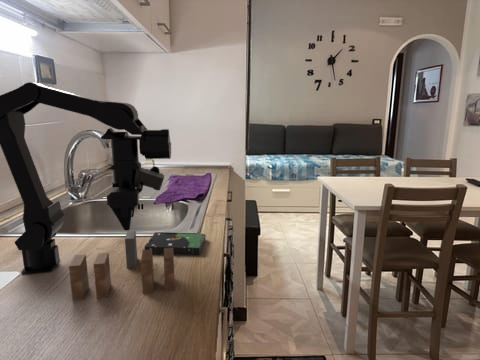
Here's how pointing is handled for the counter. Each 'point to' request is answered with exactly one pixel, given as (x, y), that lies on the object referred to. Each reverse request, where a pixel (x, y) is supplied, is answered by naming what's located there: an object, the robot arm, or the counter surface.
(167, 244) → the disk drive
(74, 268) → the domino
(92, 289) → the counter surface
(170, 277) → the domino
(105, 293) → the domino
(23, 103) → the robot arm
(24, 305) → the counter surface
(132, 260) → the domino
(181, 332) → the counter surface
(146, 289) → the domino
